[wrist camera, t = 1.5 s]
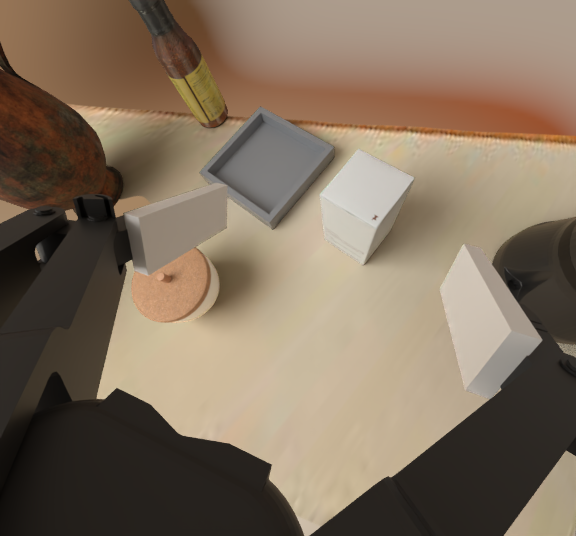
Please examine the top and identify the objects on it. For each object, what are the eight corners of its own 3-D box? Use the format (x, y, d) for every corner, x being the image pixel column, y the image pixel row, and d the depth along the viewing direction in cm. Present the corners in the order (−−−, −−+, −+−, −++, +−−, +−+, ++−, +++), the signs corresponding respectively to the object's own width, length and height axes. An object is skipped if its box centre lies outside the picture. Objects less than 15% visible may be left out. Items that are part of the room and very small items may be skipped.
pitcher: (45, 225, 50) (-327, 69, 22) (95, 133, 55) (-157, -93, 27) (114, 244, 47) (-226, 85, 18) (162, 143, 51) (-48, -107, 23)
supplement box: (393, 228, 39) (419, 177, 27) (362, 267, 39) (376, 231, 27) (351, 203, 42) (358, 145, 30) (322, 239, 41) (317, 194, 29)
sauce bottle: (228, 100, 52) (169, -40, 33) (229, 126, 50) (167, -7, 31) (197, 107, 53) (121, -25, 34) (196, 133, 51) (116, 8, 32)
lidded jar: (160, 325, 41) (112, 319, 32) (171, 258, 44) (130, 236, 35) (226, 327, 39) (195, 322, 30) (233, 258, 42) (207, 235, 33)
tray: (334, 157, 44) (334, 146, 42) (272, 229, 42) (269, 222, 40) (263, 117, 49) (260, 106, 47) (205, 181, 47) (199, 172, 45)
